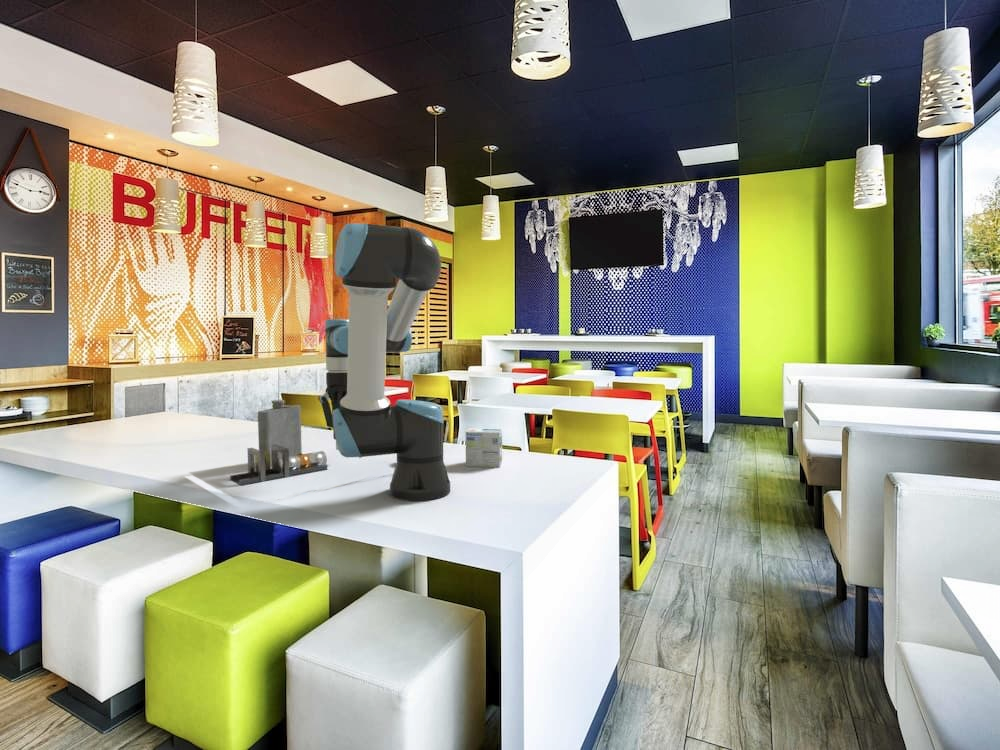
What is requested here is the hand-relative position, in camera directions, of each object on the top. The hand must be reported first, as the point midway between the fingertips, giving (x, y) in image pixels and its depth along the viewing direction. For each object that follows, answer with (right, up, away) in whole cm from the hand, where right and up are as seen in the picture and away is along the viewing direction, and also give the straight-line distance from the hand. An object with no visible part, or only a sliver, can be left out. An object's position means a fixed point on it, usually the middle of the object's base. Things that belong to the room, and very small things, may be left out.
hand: (340, 449), depth 168 cm
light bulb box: (+43, -5, +4) cm, 43 cm away
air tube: (-8, -5, -9) cm, 13 cm away
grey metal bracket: (-15, -5, -16) cm, 22 cm away
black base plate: (-13, -6, -13) cm, 19 cm away
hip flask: (-18, -5, 0) cm, 19 cm away
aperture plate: (-18, -6, -12) cm, 23 cm away
